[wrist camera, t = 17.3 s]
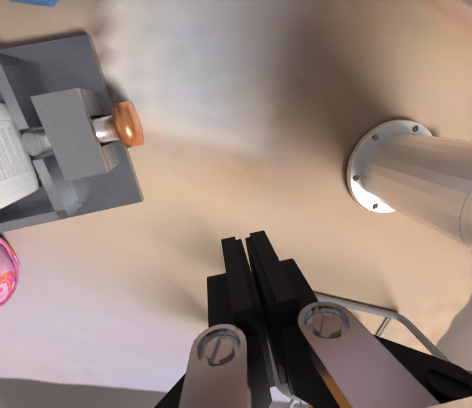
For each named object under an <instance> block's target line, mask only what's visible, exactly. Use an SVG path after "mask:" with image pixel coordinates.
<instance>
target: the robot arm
mask: <svg viewBox="0 0 472 408" xmlns="http://www.w3.org/2000/svg"><path fill="white" fill-rule="evenodd" d="M347 184H348V188H349V191H350V193H351V195H352V196H353V198H354V199H355V201H357V202H358V203H359V204H360V205H361V206H363V207H365V208H366V209H369V210H371V211H374V212H380V213H384V212H392V211H397V212H399V213H401V214H403V215H404V216H406V217H408V218H410V219H412V220H414V221H416V222H418V223H420V224H422V225H424V226H425V227H427V228H429V229H431V230H433V231H435V232H437V233H439V234H441V235H443V236H445V237H447V238H448V239H450V240H452V241H454V242H456V243H458V244H460V245H462V246H464V247H466V248H468V249H470V250H471V251H472V141H466V140H458V139H450V138H442V137H434V136H432V134H431V133H430V132H429V130H428V129H427V128H426V127H424V126H423V125H421V124H420V123H417V122H414V121H410V120H392V121H387V122H385V123H382V124H380V125H378V126H376V127H375V128H373V129H371V130H370V131H369V132H368V133H367V134H366V135H364V136H363V137H362V139H361V140H360V141H359V142H358V144H357V145H356V147H355V148H354V150H353V152H352V154H351V156H350V159H349V162H348V167H347ZM245 240H246V245H247V251H248V256H249V262H250V267H251V270H250V267H249V264H248V260H247V257H246V254H245V250H244V247H243V244H242V240H241V239H239V240H236V239H235V237H230V238H226V239H221V242H222V249H223V255H224V262H225V269H226V273H224V274H219V275H215V276H210V277H207V293H208V323H209V328H208V329H206V330H204V331H203V332H202V333H201V334H199V335H198V337H197V338H196V339H195V341H194V343H193V345H192V348H191V352H190V356H189V361H188V366H187V370H186V373H185V374H184V375H183V377H182V378H181V379H180V380H179V381H178V382H177V383H176V384H175V385H174V386H173V388H172V389H171V390H170V391H169V392H168V393H167V394H166V395H165V396H164V398H163V399H162V400H161V401H160V402H159V403H158V404H157V405H156V406H155V407H154V408H268V407H269V406H270V404H271V402H272V398H271V393H270V387H274V386H275V381H274V375H273V370H272V364H271V358H270V352H269V347H268V342H269V346H270V349H271V353H272V356H273V360H274V363H275V367H276V370H277V374H278V377H279V381H280V384H281V385H282V384H286V383H287V384H288V388H289V391H290V394H291V396H292V395H295V396H296V397H298V398H299V399H301V400H303V401H305V402H306V403H308V407H309V408H472V366H471V369H470V371H466V370H464V369H463V368H461V367H459V366H457V365H455V364H452V363H450V362H448V361H445V360H442V359H440V358H437V357H434V356H431V355H428V354H426V353H423V352H420V351H417V350H415V349H412V348H409V347H406V346H403V345H401V344H398V343H395V342H392V341H389V340H387V339H384V338H381V337H378V336H376V335H373V334H371V333H370V332H369V330H368V329H367V328H366V327H365V326H364V325H363V324H362V323H361V322H360V321H359V320H358V319H357V318H356V317H355V316H354V315H353V314H352V313H351V312H350V311H349V310H347V309H346V308H345V307H343V306H341V305H339V304H336V303H332V302H319V301H318V299H317V297H316V296H315V294H314V292H313V291H312V289H311V287H310V286H309V284H308V282H307V281H306V279H305V278H304V276H303V274H302V273H301V271H300V269H299V268H298V266H297V264H296V263H295V261H294V260H293V259H287V260H283V261H279V259H278V257H277V255H276V253H275V251H274V249H273V247H272V245H271V243H270V241H269V239H268V237H267V235H266V234H265V232H264V230H263V231H259V232H254V233H250V237H248V238H245ZM267 339H268V341H267Z"/></svg>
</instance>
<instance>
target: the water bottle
mask: <svg viewBox="0 0 472 408" xmlns="http://www.w3.org/2000/svg"><path fill="white" fill-rule="evenodd" d="M10 1H12V2H19V3H27V4H35V5H43V6H52V7H53V6H54V5H55V4H56V3H57V1H58V0H10Z"/></svg>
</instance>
